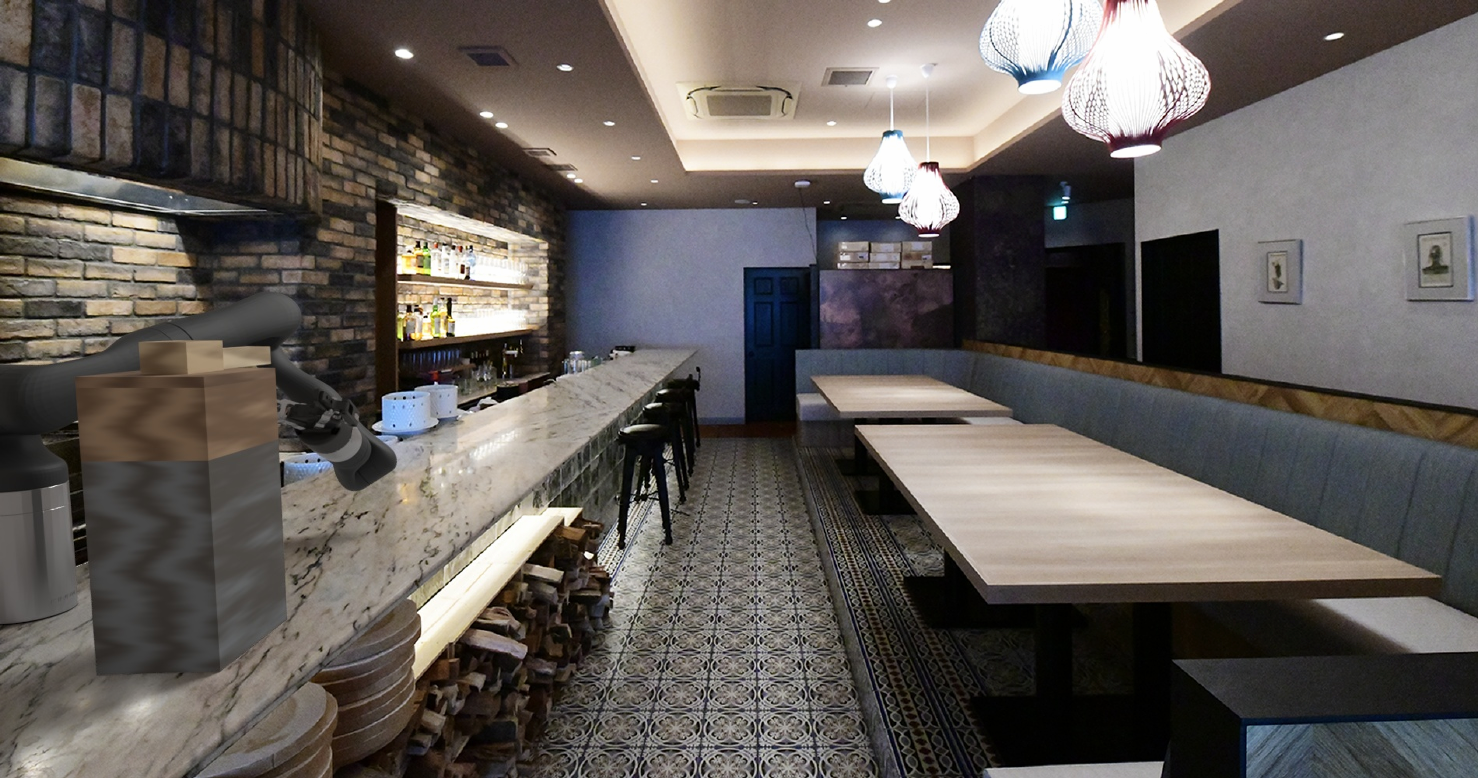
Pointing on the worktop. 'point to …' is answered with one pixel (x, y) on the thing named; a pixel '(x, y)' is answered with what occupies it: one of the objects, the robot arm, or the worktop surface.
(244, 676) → the worktop surface
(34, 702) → the worktop surface
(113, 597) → the grey tall block
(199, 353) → the wooden key
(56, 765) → the worktop surface
